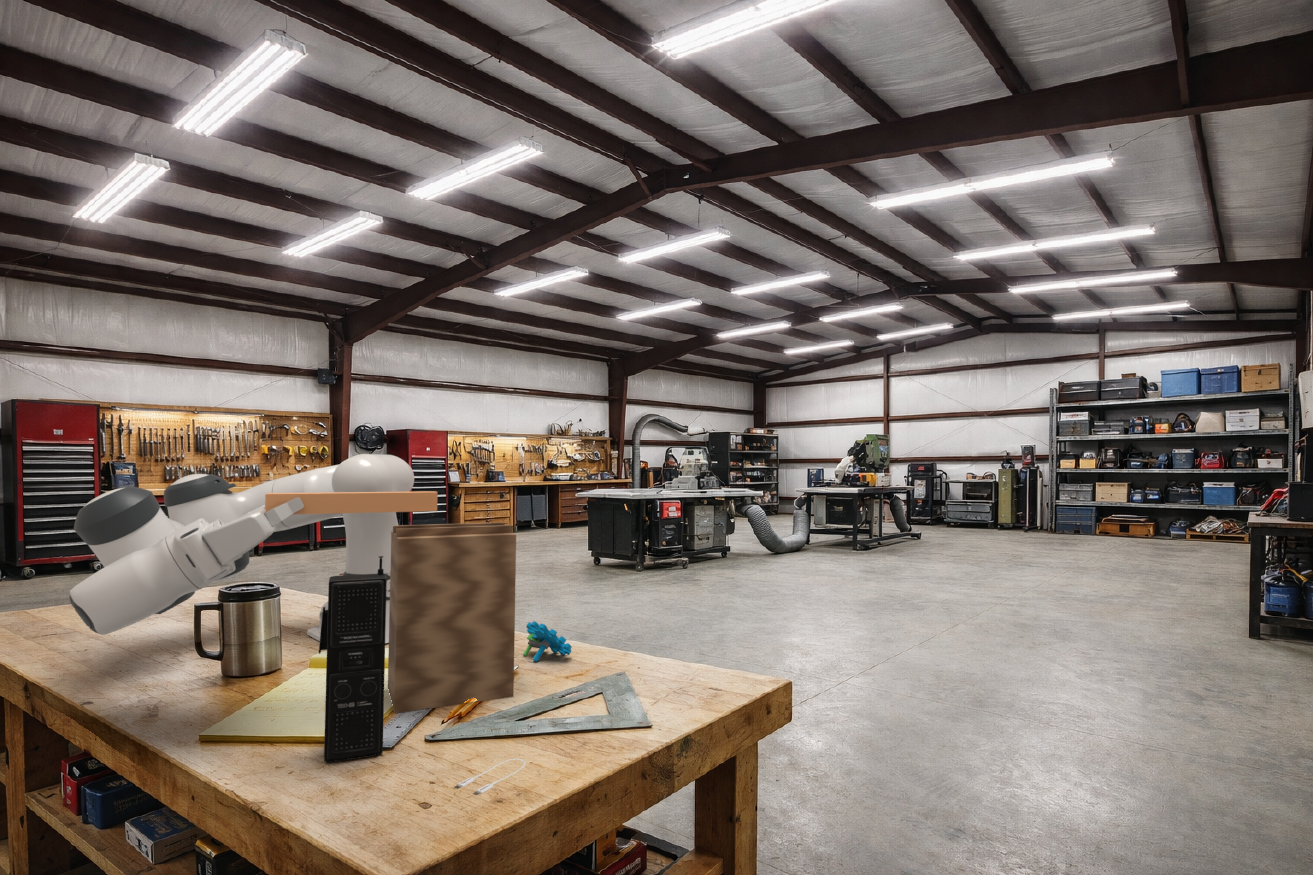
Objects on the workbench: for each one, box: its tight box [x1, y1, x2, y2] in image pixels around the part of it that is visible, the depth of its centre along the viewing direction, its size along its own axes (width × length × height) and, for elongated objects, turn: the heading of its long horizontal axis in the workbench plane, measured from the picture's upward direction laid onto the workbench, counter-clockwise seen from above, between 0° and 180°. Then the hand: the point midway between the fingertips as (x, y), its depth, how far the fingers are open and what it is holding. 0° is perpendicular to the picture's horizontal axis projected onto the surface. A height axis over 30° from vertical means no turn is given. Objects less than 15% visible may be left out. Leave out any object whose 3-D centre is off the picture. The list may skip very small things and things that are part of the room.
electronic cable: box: [453, 758, 527, 796], centre depth 83 cm, size 4×10×1 cm, turn 150°
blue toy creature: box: [522, 620, 573, 663], centre depth 132 cm, size 11×6×10 cm
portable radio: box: [318, 556, 387, 764], centre depth 90 cm, size 8×6×25 cm
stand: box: [387, 521, 517, 714], centre depth 113 cm, size 18×12×27 cm, turn 116°
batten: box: [265, 490, 439, 514], centre depth 106 cm, size 24×3×3 cm, turn 116°
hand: (302, 500), depth 103 cm, fingers closed on batten, 3 cm apart
